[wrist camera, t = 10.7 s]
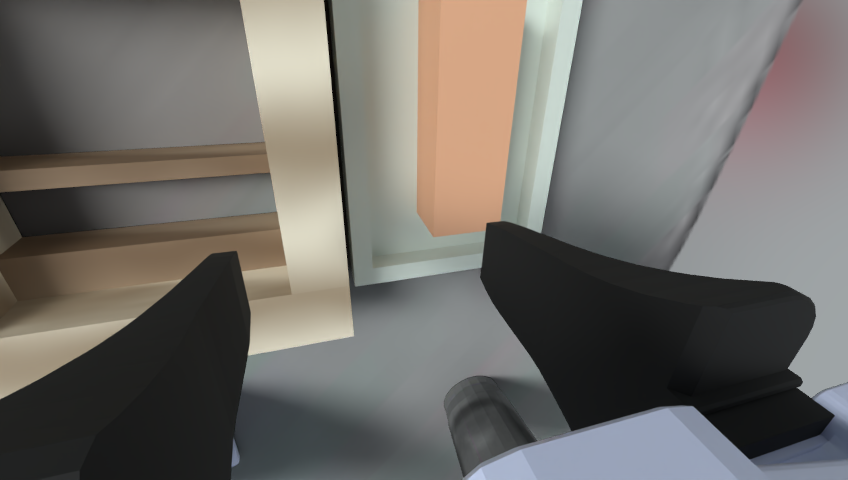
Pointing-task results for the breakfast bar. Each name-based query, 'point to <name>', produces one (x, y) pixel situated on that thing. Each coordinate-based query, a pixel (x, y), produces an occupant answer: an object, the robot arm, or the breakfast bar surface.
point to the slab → (465, 109)
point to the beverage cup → (482, 422)
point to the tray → (397, 134)
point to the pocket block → (193, 240)
